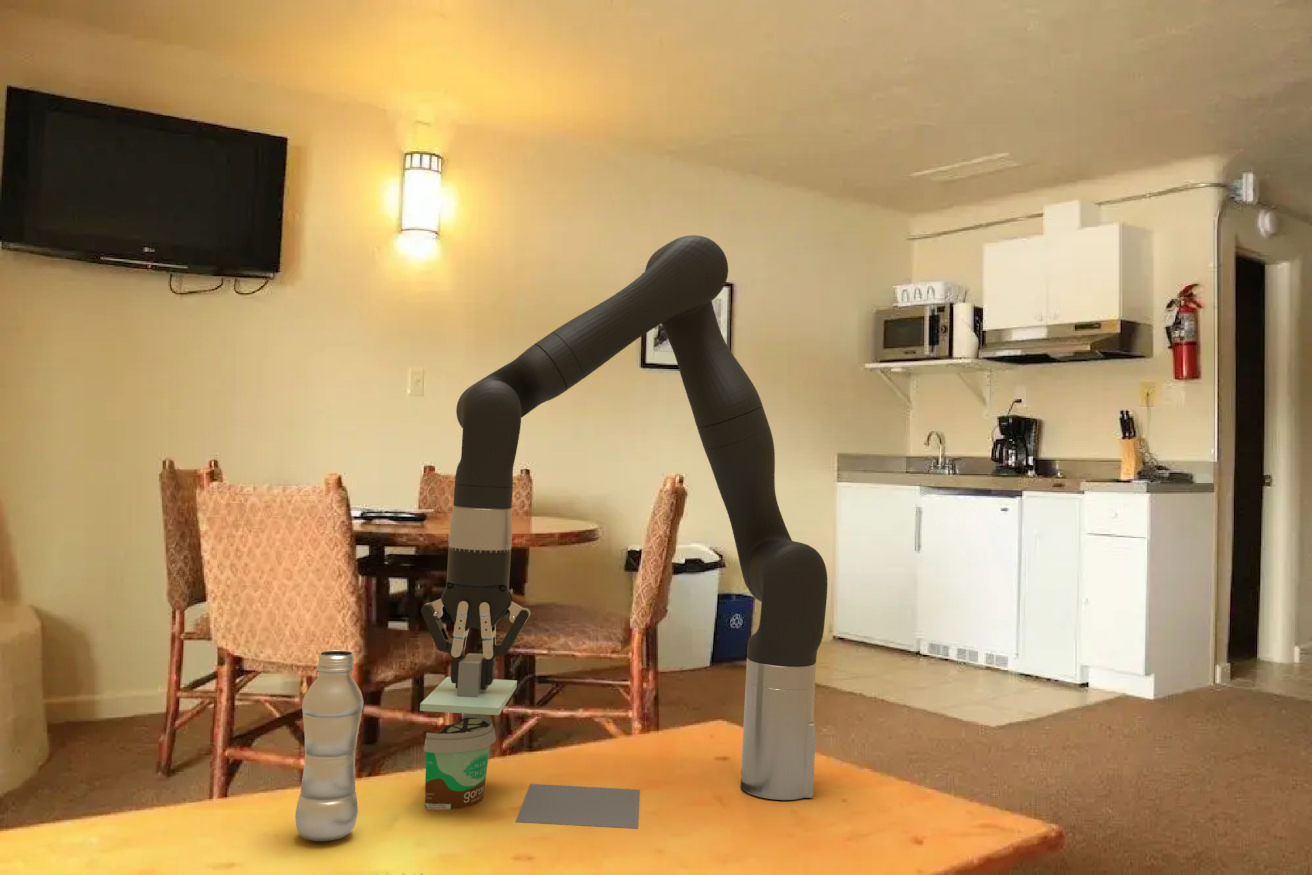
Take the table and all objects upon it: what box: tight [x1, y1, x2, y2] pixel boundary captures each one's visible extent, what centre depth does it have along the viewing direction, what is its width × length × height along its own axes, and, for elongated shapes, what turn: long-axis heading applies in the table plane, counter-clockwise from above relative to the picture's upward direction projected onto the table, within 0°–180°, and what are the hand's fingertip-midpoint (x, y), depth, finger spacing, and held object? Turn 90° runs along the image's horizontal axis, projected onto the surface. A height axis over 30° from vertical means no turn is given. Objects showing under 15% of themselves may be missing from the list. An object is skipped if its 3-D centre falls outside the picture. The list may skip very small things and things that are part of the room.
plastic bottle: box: [294, 649, 364, 842], centre depth 112 cm, size 6×7×20 cm
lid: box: [419, 652, 518, 716], centre depth 124 cm, size 9×15×5 cm, turn 0°
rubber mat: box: [515, 783, 641, 830], centre depth 123 cm, size 14×14×1 cm
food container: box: [423, 713, 497, 811], centre depth 124 cm, size 12×6×10 cm, turn 168°
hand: (471, 687), depth 124 cm, fingers closed on lid, 2 cm apart
